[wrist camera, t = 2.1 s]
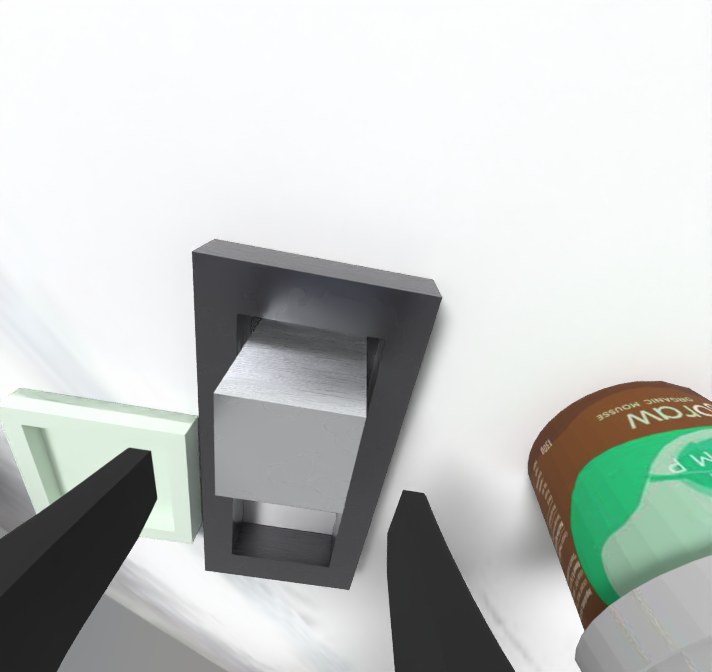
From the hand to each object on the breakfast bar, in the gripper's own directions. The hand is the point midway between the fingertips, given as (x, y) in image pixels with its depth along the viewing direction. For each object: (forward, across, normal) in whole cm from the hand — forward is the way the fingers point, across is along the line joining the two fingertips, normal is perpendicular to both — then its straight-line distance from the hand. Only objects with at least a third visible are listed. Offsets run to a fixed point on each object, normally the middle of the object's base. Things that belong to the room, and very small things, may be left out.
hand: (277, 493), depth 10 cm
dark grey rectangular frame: (+7, 0, +5) cm, 9 cm away
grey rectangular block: (+7, 0, 0) cm, 7 cm away
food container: (+8, -15, 0) cm, 17 cm away
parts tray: (+7, +10, +9) cm, 15 cm away
